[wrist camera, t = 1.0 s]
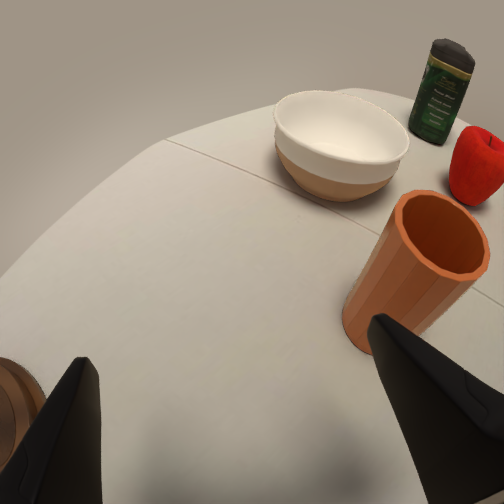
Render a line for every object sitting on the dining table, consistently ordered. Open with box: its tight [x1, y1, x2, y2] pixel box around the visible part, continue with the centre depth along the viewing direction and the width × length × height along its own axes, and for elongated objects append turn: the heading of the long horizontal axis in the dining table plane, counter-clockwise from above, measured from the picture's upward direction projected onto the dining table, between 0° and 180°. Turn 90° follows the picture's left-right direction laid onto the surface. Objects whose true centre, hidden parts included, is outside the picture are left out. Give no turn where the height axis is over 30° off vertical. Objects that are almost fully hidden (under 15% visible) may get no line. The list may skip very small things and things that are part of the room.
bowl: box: [273, 91, 410, 202], centre depth 36 cm, size 16×16×8 cm
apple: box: [449, 126, 504, 206], centre depth 34 cm, size 9×9×11 cm
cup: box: [342, 190, 490, 355], centre depth 22 cm, size 7×7×12 cm
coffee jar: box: [409, 39, 475, 144], centre depth 41 cm, size 10×8×19 cm
